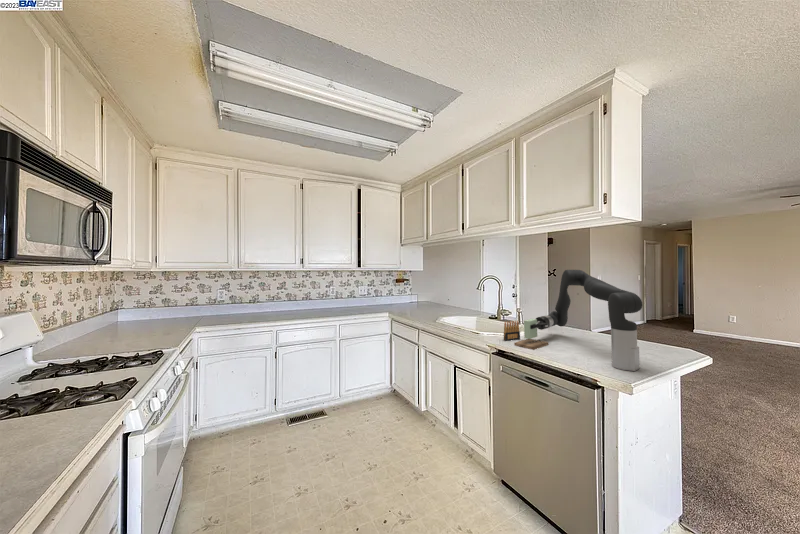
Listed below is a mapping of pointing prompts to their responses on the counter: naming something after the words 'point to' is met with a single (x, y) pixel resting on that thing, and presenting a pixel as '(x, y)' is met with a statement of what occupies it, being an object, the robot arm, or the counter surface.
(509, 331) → the ammunition clip
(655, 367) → the counter surface
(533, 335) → the green bar
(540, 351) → the counter surface
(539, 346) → the bolt board
